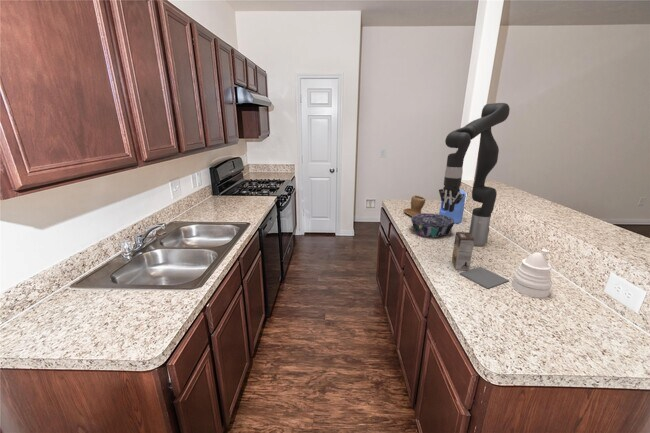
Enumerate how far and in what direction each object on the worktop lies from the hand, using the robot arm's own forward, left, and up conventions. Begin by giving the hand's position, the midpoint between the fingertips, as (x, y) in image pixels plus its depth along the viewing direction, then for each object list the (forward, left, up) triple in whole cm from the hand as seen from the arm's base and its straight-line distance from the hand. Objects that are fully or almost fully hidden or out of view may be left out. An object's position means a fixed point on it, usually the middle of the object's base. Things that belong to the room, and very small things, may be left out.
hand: (448, 210), depth 139 cm
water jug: (-50, -40, -25) cm, 69 cm away
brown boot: (-36, -61, -25) cm, 75 cm away
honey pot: (-9, +38, -25) cm, 47 cm away
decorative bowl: (-22, -30, -25) cm, 45 cm away
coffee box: (0, +11, -25) cm, 28 cm away
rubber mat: (0, +24, -25) cm, 34 cm away
